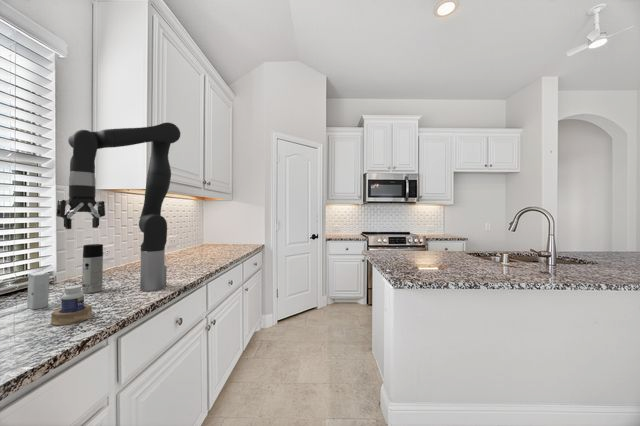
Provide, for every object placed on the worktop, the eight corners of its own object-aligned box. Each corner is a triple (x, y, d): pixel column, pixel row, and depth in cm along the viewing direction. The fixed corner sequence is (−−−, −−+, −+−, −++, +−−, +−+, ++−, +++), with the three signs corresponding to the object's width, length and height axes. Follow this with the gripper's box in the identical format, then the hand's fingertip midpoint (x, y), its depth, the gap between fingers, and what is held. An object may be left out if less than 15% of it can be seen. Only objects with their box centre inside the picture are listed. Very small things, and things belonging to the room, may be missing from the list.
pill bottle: (80, 318, 88) (81, 288, 87) (58, 321, 85) (58, 290, 85) (85, 312, 92) (86, 283, 92) (64, 315, 90) (65, 285, 90)
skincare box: (26, 306, 99) (26, 273, 98) (43, 303, 102) (43, 270, 102) (32, 310, 96) (32, 275, 95) (49, 306, 99) (50, 272, 99)
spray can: (85, 290, 119) (85, 244, 119) (104, 288, 122) (105, 243, 122) (79, 294, 113) (80, 246, 113) (100, 292, 116) (100, 245, 116)
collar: (80, 311, 95) (80, 302, 95) (99, 315, 91) (99, 306, 91) (43, 322, 86) (43, 312, 86) (62, 327, 82) (62, 317, 82)
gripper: (97, 186, 111) (97, 227, 111) (52, 183, 97) (52, 229, 97) (109, 186, 108) (109, 227, 108) (65, 182, 95) (64, 229, 95)
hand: (82, 228), depth 103 cm, fingers open, 8 cm apart
